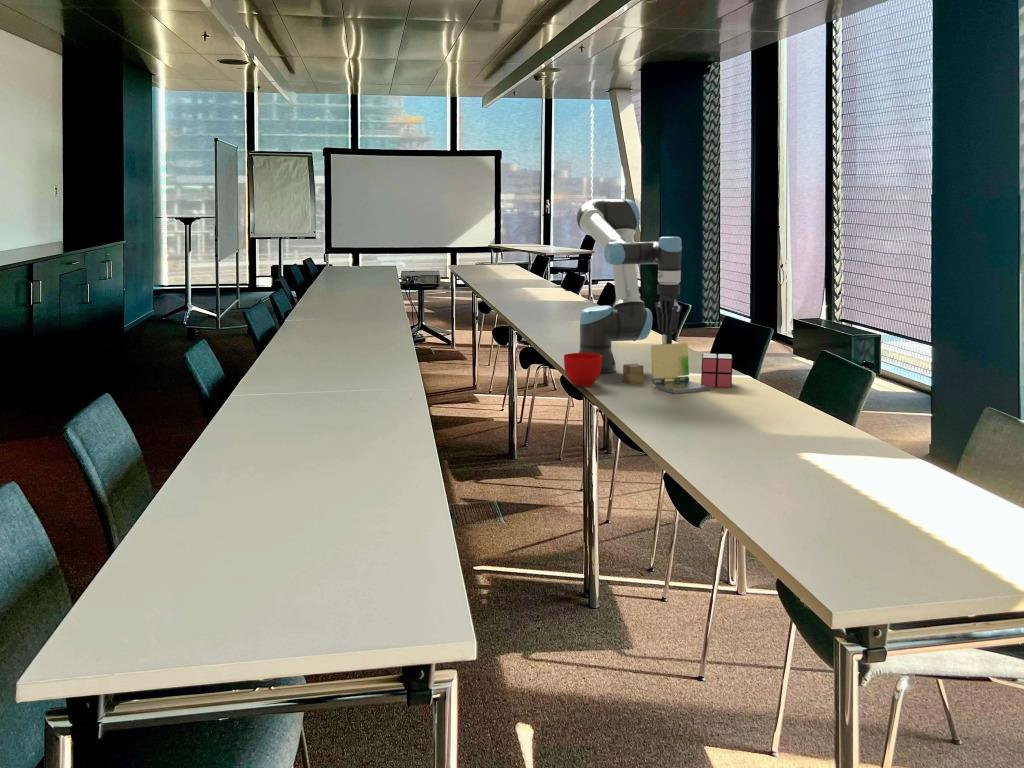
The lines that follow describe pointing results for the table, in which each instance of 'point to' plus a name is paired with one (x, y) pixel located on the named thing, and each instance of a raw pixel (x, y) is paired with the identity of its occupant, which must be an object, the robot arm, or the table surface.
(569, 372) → the ceramic cup
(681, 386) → the hinge base
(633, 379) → the block
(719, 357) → the puzzle cube
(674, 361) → the cream square panel
